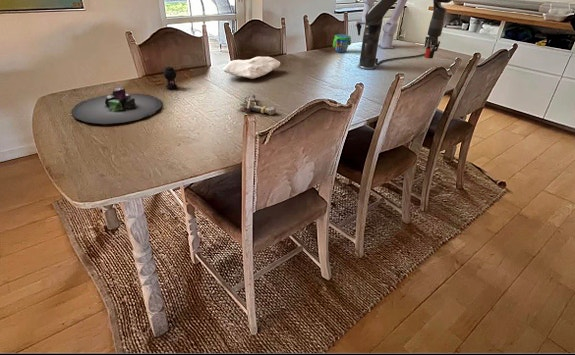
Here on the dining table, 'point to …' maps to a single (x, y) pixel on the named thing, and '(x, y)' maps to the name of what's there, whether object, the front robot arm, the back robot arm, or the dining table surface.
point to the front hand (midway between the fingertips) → (428, 56)
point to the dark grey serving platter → (116, 108)
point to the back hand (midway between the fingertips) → (363, 35)
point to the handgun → (255, 106)
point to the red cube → (427, 53)
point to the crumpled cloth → (252, 67)
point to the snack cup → (341, 42)
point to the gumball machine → (170, 77)
